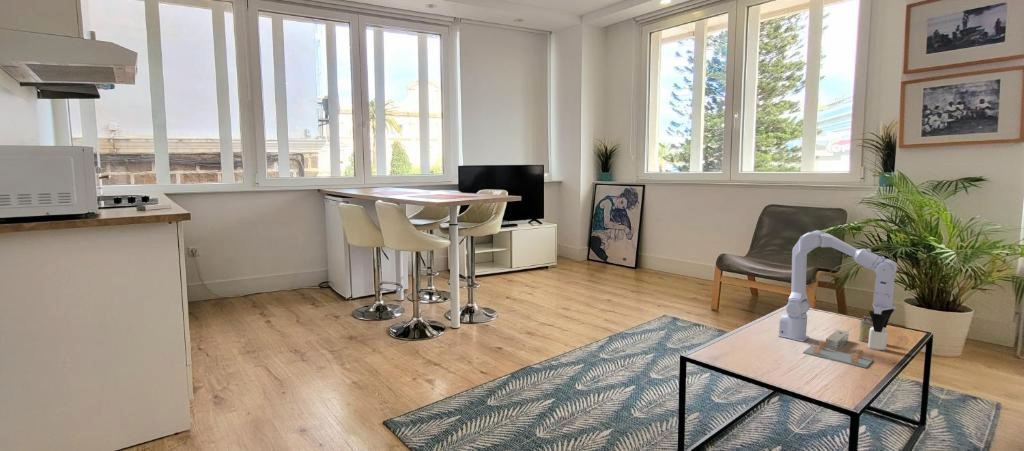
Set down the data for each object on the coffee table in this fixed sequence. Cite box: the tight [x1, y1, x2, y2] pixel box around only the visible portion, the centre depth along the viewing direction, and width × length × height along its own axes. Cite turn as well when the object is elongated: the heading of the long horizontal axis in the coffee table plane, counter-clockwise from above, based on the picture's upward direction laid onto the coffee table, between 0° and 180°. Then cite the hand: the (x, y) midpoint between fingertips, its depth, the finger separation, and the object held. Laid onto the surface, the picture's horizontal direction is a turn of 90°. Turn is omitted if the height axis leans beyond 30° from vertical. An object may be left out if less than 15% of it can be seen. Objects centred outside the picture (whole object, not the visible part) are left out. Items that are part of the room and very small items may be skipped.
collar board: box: [802, 340, 874, 369], centre depth 194 cm, size 20×10×4 cm, turn 45°
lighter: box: [858, 315, 873, 343], centre depth 210 cm, size 7×4×10 cm, turn 48°
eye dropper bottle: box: [867, 327, 889, 351], centre depth 202 cm, size 4×6×12 cm
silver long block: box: [825, 329, 850, 351], centre depth 207 cm, size 16×4×4 cm, turn 135°
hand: (880, 329), depth 194 cm, fingers open, 7 cm apart
